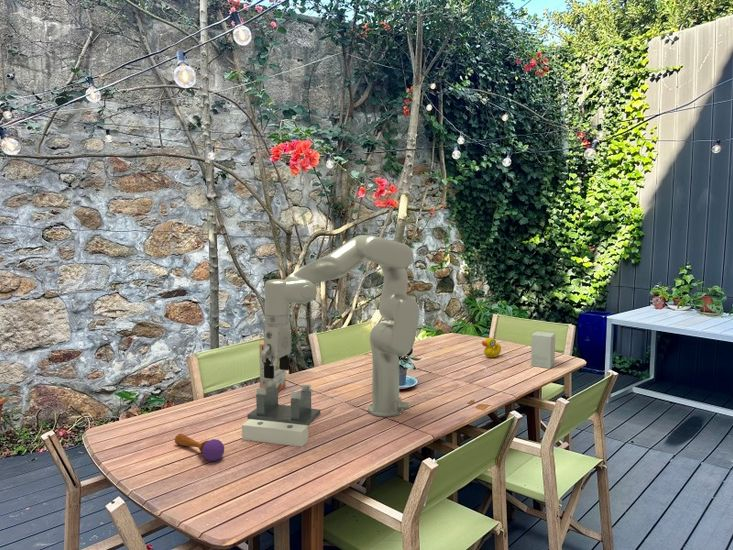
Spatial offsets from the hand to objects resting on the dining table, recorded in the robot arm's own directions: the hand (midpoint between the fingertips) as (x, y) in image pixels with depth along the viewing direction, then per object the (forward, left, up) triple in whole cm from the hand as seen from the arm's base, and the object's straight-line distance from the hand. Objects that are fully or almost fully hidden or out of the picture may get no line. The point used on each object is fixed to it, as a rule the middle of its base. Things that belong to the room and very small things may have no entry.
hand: (276, 373), depth 162 cm
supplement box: (-80, -110, -21) cm, 137 cm away
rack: (+6, -16, -20) cm, 26 cm away
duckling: (-56, -116, -21) cm, 130 cm away
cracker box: (+22, -38, -21) cm, 48 cm away
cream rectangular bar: (0, +2, -21) cm, 21 cm away
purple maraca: (+17, +17, -21) cm, 32 cm away
